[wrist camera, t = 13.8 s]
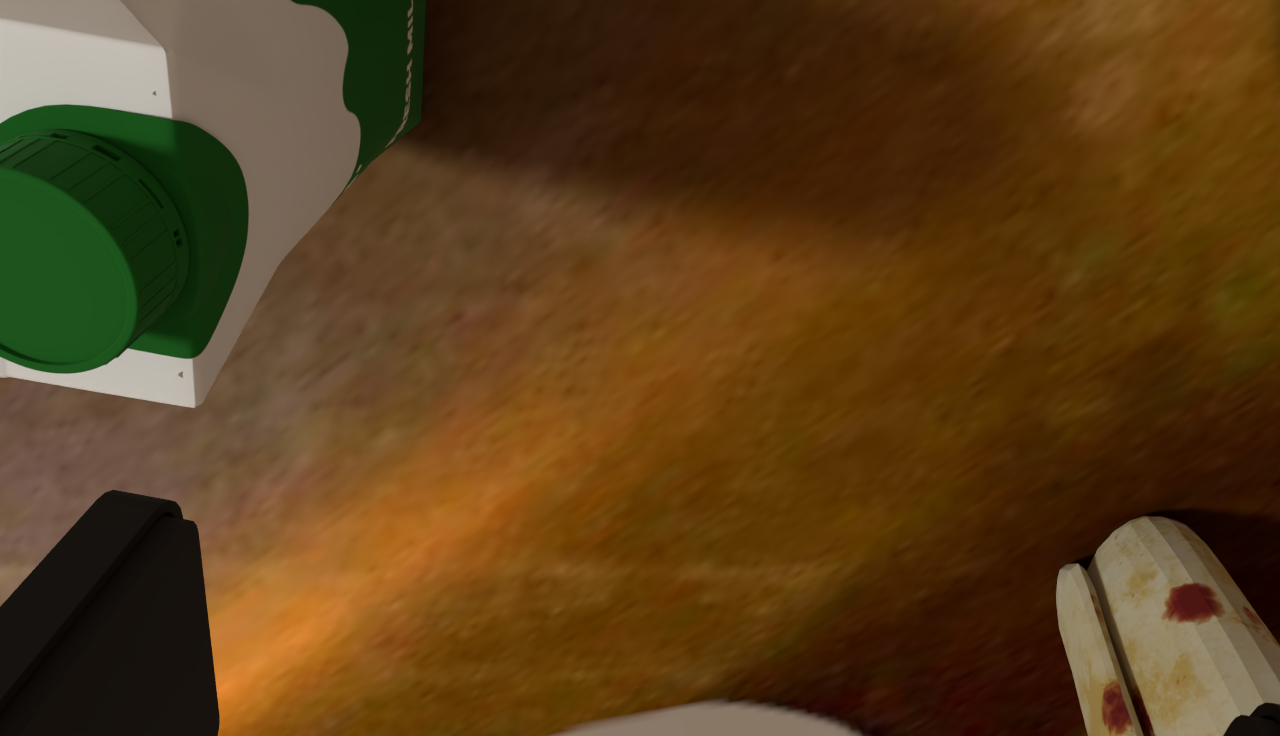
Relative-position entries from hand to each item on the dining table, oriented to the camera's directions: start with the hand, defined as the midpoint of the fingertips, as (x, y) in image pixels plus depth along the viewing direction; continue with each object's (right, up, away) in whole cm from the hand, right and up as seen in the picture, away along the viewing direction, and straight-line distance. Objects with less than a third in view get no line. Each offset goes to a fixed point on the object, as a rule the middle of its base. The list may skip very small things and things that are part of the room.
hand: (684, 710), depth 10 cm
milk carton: (-11, +15, +26) cm, 32 cm away
